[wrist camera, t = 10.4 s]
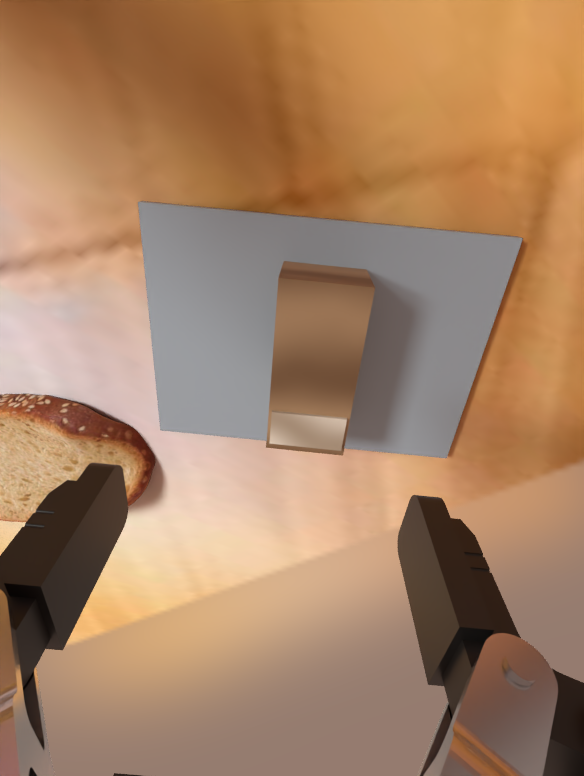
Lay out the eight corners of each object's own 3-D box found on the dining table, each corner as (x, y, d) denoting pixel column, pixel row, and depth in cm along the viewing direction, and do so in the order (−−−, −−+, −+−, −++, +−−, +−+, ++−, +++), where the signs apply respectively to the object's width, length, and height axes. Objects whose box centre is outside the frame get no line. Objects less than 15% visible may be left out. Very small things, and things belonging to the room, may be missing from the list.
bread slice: (-96, 473, 36) (-137, 504, 33) (-50, 320, 28) (-98, 341, 25) (91, 559, 40) (71, 593, 37) (174, 446, 33) (158, 478, 30)
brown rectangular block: (283, 260, 24) (278, 278, 20) (366, 269, 24) (375, 288, 20) (272, 413, 30) (265, 449, 26) (339, 420, 30) (342, 457, 26)
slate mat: (163, 425, 31) (160, 430, 31) (141, 200, 23) (138, 202, 23) (444, 453, 31) (446, 458, 31) (518, 236, 23) (523, 238, 23)
